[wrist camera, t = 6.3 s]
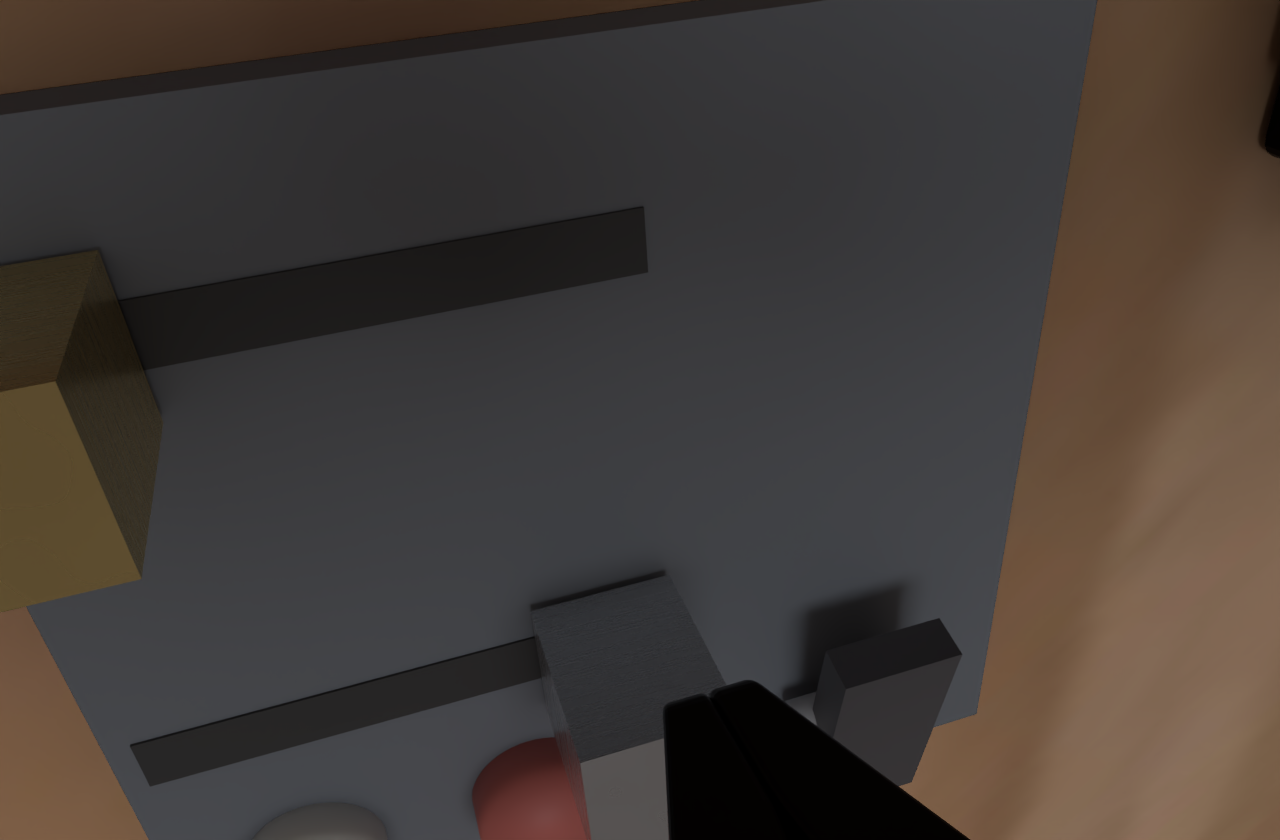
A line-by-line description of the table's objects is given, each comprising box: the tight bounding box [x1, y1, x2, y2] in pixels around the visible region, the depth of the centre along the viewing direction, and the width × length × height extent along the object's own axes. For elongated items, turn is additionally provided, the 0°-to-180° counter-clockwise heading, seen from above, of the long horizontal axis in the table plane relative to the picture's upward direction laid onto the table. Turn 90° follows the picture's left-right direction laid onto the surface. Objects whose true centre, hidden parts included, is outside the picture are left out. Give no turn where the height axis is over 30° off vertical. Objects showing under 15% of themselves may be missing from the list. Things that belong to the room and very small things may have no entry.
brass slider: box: [0, 250, 163, 612], centre depth 14 cm, size 3×3×4 cm
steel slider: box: [530, 575, 726, 840], centre depth 21 cm, size 3×3×4 cm
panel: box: [0, 0, 1097, 840], centre depth 21 cm, size 20×19×3 cm
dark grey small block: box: [785, 618, 962, 786], centre depth 25 cm, size 4×6×2 cm, turn 4°
